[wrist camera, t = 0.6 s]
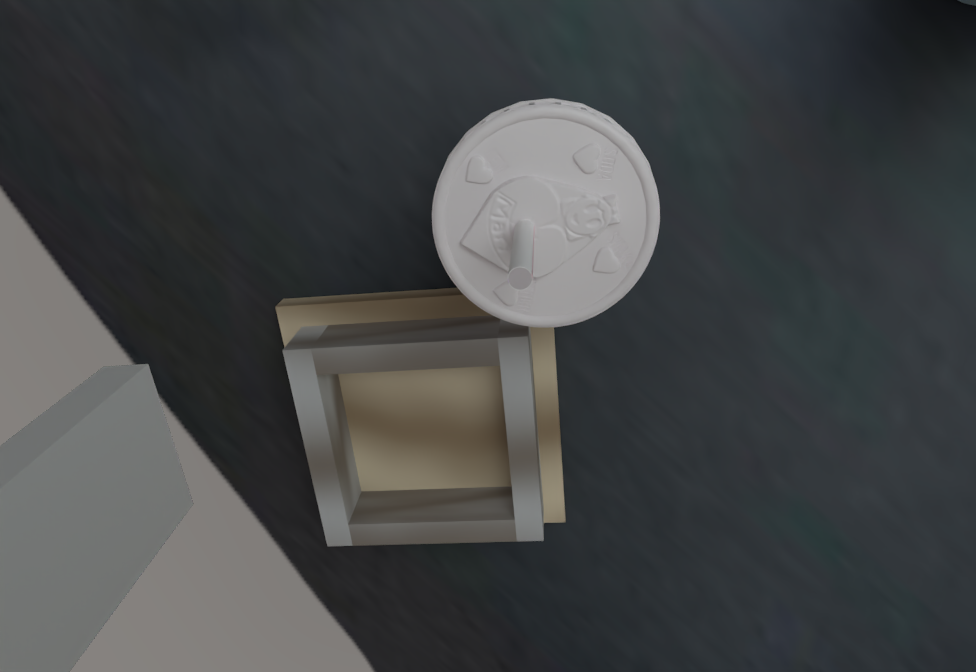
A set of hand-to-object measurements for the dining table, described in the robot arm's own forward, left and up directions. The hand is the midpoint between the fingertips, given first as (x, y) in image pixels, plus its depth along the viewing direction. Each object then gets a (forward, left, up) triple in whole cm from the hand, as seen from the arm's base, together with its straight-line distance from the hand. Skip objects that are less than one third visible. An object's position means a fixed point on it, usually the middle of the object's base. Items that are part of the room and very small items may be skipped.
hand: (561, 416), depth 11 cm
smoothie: (-1, 0, -19) cm, 19 cm away
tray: (+10, -6, -19) cm, 22 cm away
